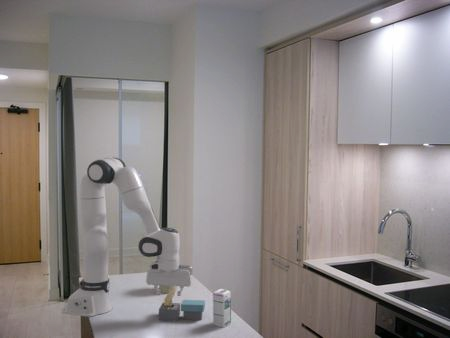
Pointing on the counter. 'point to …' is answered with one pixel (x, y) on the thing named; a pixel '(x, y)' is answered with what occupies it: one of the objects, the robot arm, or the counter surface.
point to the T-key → (169, 298)
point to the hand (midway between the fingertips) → (168, 294)
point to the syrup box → (222, 307)
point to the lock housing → (177, 313)
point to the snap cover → (193, 305)
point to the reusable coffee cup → (167, 288)
